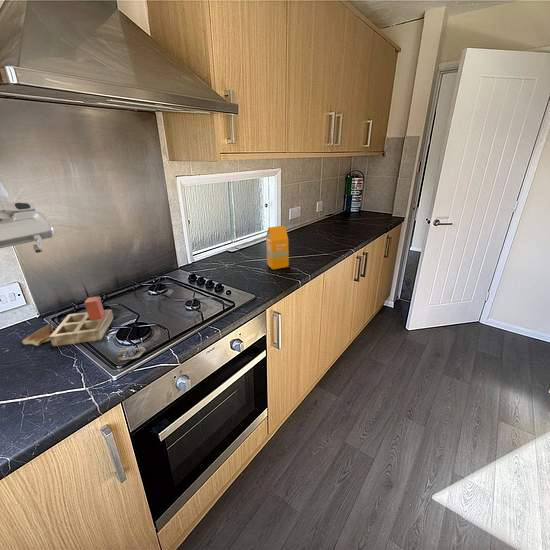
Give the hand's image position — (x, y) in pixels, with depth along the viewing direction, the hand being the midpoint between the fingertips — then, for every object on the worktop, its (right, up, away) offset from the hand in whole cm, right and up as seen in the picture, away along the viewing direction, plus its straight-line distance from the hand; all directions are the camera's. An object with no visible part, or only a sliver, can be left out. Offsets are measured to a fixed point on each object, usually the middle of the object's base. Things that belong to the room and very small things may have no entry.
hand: (17, 256), depth 77 cm
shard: (-9, -25, +18) cm, 32 cm away
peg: (+8, -22, +24) cm, 33 cm away
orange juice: (+69, 0, +71) cm, 99 cm away
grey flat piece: (+26, -28, +9) cm, 39 cm away
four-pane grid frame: (+5, -24, +21) cm, 32 cm away
